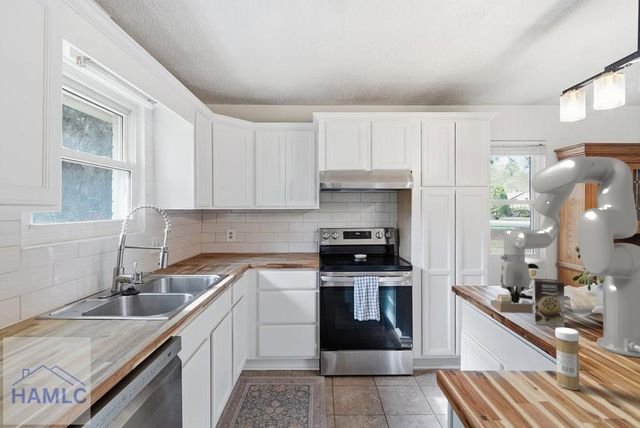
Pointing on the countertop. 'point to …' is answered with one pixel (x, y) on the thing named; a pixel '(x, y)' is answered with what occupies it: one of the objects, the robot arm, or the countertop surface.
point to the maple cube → (504, 298)
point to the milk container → (534, 273)
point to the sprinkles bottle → (567, 358)
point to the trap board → (513, 307)
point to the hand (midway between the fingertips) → (515, 302)
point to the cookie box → (548, 302)
